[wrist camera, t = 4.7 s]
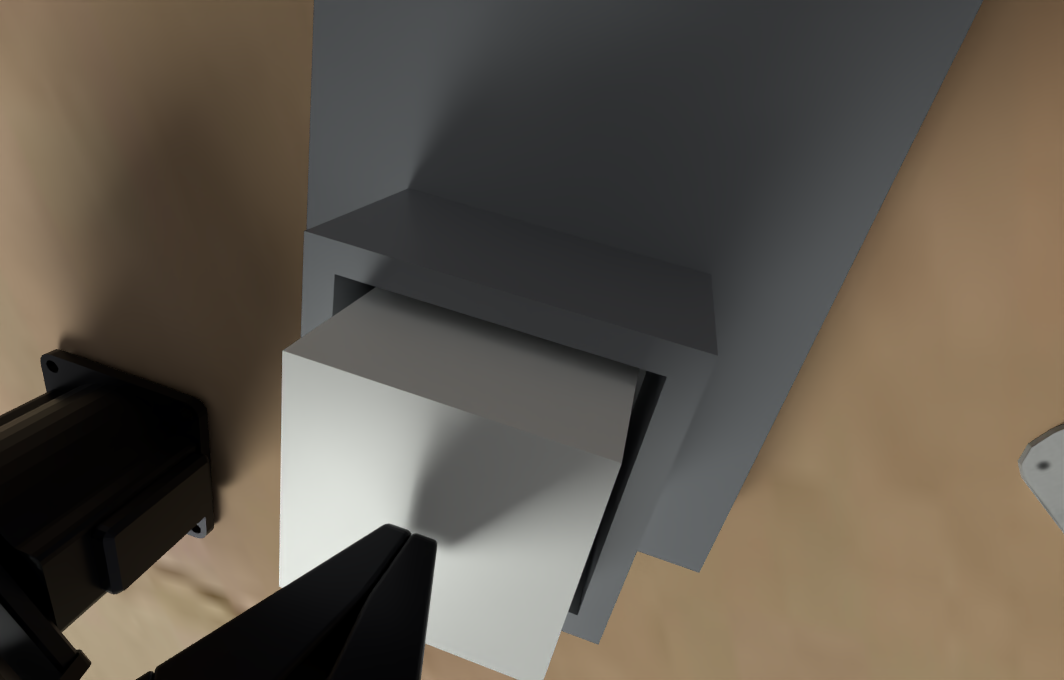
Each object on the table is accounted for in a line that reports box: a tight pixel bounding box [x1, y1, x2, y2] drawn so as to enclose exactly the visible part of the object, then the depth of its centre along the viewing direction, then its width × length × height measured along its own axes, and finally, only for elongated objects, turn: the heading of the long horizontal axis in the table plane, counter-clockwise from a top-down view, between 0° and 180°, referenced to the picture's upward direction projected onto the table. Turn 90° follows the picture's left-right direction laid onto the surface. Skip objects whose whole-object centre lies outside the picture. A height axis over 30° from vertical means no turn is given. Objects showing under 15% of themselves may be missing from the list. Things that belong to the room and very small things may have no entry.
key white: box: [279, 287, 639, 680], centre depth 10 cm, size 5×5×3 cm
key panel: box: [301, 0, 983, 644], centre depth 11 cm, size 12×22×6 cm, turn 168°
